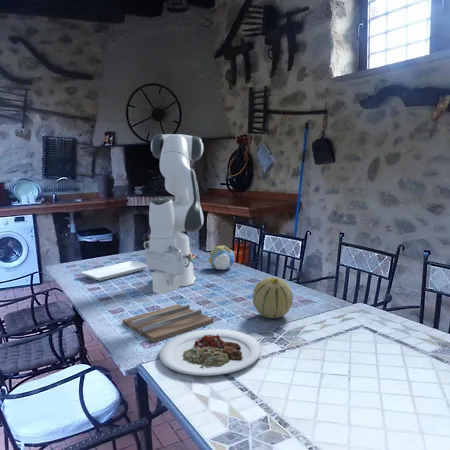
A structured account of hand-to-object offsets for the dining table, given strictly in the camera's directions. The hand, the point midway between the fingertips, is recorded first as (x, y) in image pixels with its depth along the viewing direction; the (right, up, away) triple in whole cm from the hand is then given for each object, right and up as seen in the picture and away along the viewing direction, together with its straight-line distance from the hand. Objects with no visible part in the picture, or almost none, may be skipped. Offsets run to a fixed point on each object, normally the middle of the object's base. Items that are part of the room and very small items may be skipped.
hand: (165, 283), depth 148 cm
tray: (-37, -6, +74) cm, 82 cm away
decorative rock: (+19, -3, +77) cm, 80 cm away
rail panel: (0, -15, +2) cm, 15 cm away
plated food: (+17, -18, -23) cm, 34 cm away
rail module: (0, -3, 0) cm, 3 cm away
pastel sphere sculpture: (-10, -1, +104) cm, 105 cm away
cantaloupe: (+38, -13, +5) cm, 41 cm away
